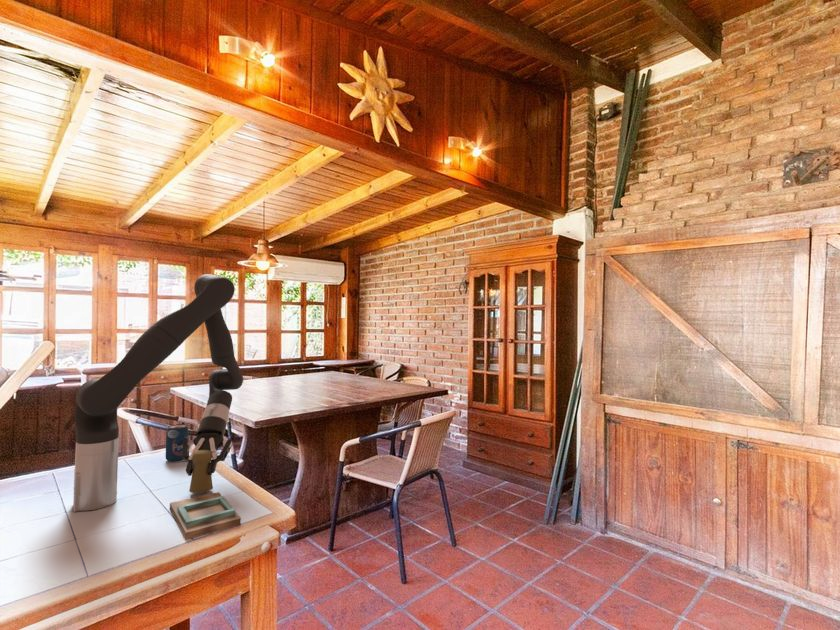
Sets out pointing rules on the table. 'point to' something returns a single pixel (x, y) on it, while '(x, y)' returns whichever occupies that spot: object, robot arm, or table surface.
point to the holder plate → (204, 514)
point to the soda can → (176, 442)
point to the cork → (201, 472)
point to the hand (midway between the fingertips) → (199, 474)
